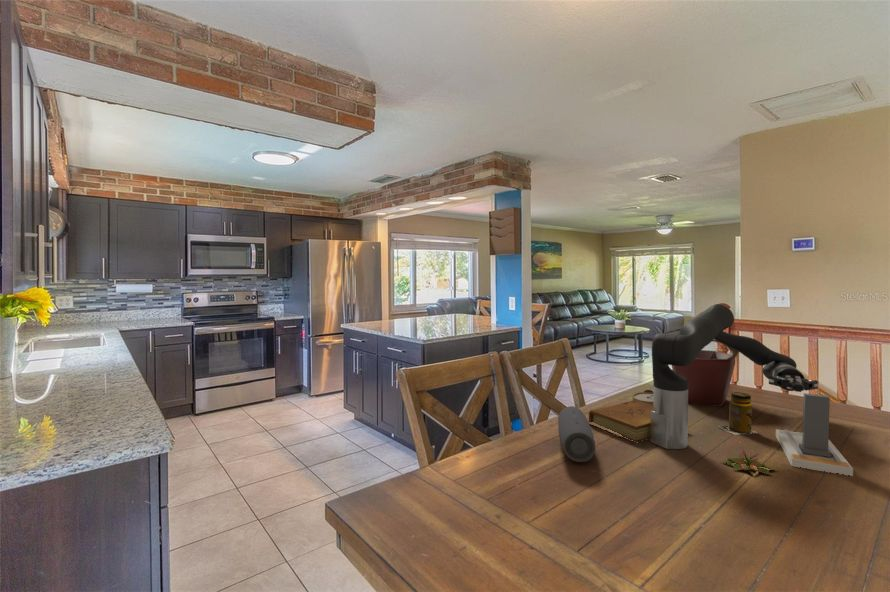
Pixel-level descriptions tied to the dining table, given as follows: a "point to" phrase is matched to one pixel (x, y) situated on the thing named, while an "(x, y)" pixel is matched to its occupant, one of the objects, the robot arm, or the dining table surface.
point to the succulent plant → (747, 463)
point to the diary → (625, 419)
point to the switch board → (810, 461)
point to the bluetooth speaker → (576, 434)
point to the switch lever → (815, 425)
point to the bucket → (709, 376)
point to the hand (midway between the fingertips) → (798, 388)
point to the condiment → (740, 414)
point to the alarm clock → (644, 396)
